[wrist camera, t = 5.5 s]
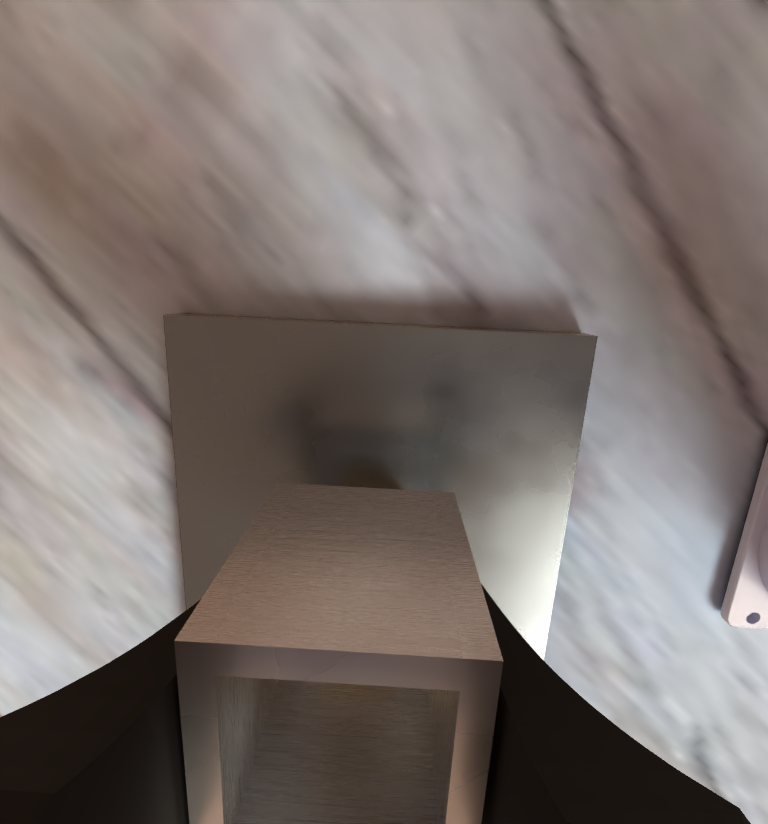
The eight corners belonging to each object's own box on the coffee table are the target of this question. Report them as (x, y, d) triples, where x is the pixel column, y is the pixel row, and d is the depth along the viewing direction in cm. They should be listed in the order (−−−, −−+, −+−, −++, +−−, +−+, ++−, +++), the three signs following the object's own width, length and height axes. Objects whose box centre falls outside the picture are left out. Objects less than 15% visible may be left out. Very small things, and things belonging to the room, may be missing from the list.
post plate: (582, 333, 15) (648, 347, 11) (530, 666, 19) (565, 768, 15) (180, 313, 16) (104, 319, 12) (203, 645, 19) (151, 739, 15)
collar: (454, 492, 13) (503, 661, 7) (440, 641, 14) (471, 894, 8) (277, 482, 13) (173, 640, 7) (279, 632, 14) (193, 873, 8)
